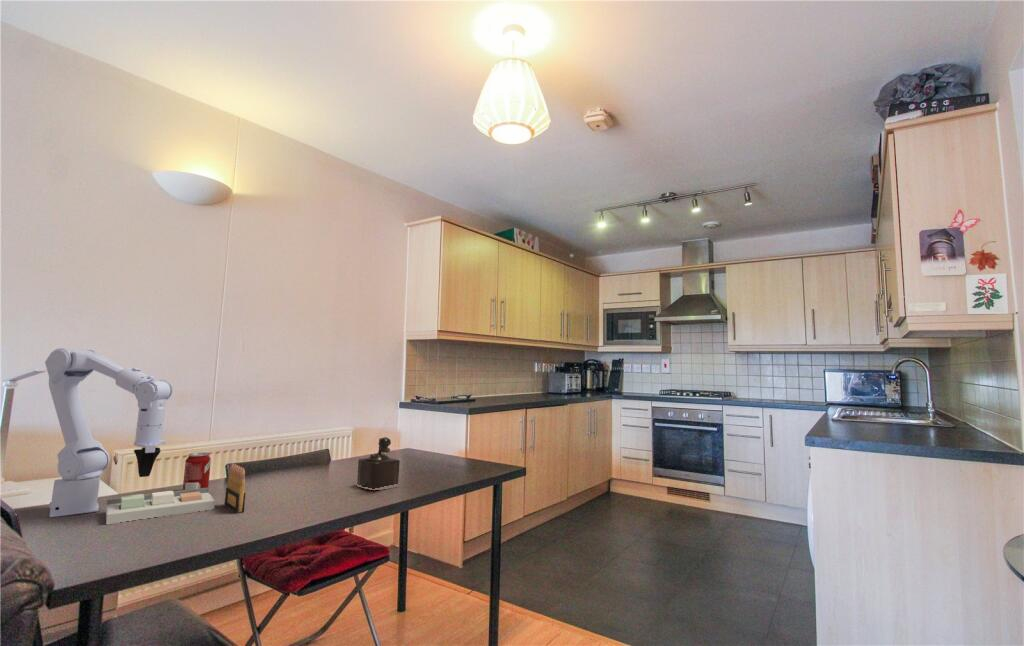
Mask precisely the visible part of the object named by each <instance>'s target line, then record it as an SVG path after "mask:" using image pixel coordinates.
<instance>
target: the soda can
mask: <svg viewBox="0 0 1024 646" xmlns="http://www.w3.org/2000/svg"><path fill="white" fill-rule="evenodd" d="M211 464H212V458H211V457H210V453H209V452H192V453H188V456H187V458H186V459H185V462H184V473H183V480H182V481H183V482H182V491H183V490H191V489H200V488H209V484H210V475H211Z"/></svg>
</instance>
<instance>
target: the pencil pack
mask: <svg viewBox="0 0 1024 646" xmlns="http://www.w3.org/2000/svg"><path fill="white" fill-rule="evenodd" d="M245 480H246V471H245V468H244V467H242V466H240V465H238V464H236V463H234V462H232V463H231V465H230V468H229V473H228V479H227V487H225V498H224V505H223V506H225V507H226V506H227V507H226V508H227V509H229V508H230V509H229V510H230V511H232V510H233V511H232V512H234V513H235V512H236V513H235V514H240V513H241V512H242V513H245V506H246V505H245V504H246V503H245V501H246V492H245V491H246V490H245V489H246V481H245Z"/></svg>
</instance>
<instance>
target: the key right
mask: <svg viewBox="0 0 1024 646" xmlns="http://www.w3.org/2000/svg"><path fill="white" fill-rule="evenodd" d="M201 499H202V494H201V493H200V492H191V493H183V494H180V502H185V501H193V500H201Z"/></svg>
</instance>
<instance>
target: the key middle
mask: <svg viewBox="0 0 1024 646" xmlns="http://www.w3.org/2000/svg"><path fill="white" fill-rule="evenodd" d="M173 492H174V491H173V490H166V491H165V490H164V491H157V492H152V493H151V494H152V497H151V506H154V505H162V504H170V503H173V502H174V493H173Z"/></svg>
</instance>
